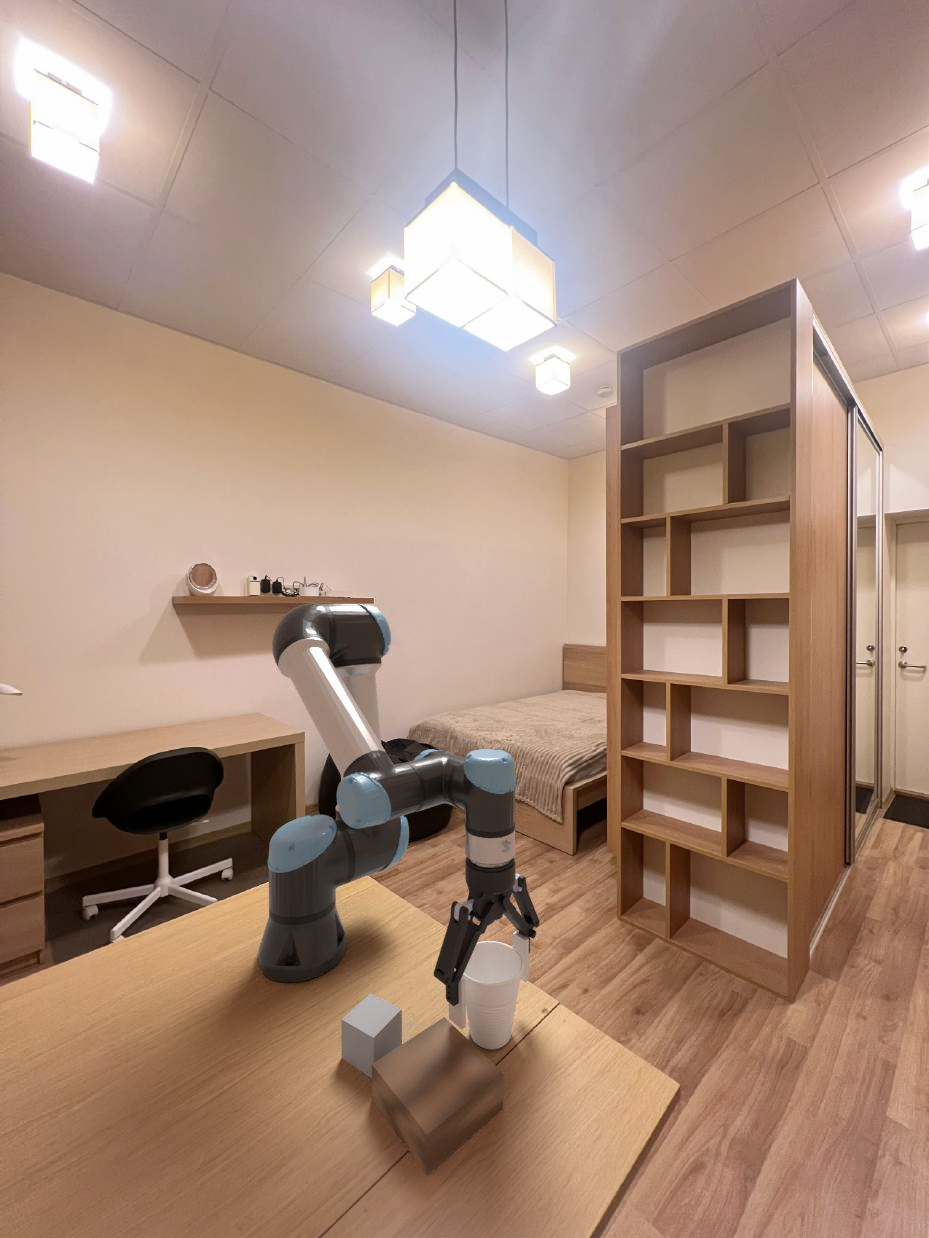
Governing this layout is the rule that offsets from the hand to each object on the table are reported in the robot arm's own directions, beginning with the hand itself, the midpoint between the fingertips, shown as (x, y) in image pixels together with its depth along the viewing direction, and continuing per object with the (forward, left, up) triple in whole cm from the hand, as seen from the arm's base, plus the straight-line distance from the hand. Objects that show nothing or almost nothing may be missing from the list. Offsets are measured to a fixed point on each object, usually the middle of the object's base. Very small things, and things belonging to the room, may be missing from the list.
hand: (490, 998), depth 77 cm
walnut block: (+3, -13, -6) cm, 15 cm away
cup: (0, 0, -6) cm, 6 cm away
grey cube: (-9, -15, -6) cm, 18 cm away
